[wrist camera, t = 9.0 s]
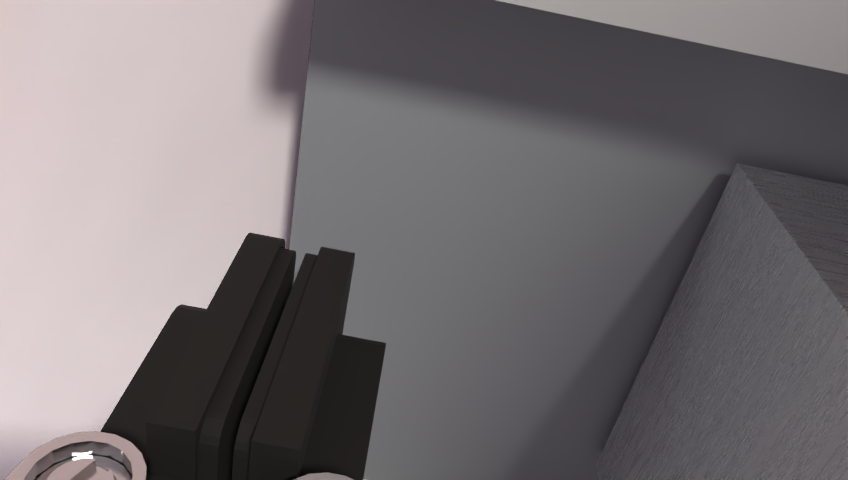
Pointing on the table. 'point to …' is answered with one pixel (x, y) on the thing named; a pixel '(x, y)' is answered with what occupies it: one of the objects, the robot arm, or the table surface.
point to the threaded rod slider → (749, 346)
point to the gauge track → (540, 198)
